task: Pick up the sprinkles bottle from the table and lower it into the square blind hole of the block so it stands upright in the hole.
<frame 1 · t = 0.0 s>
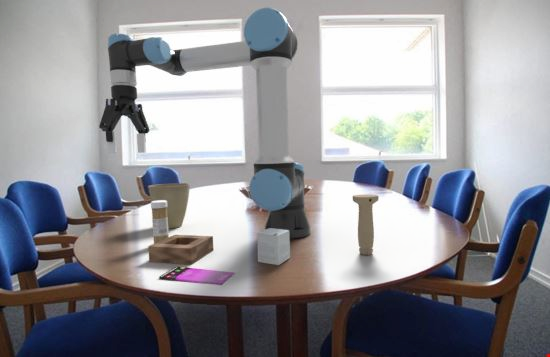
hand: (128, 153, 107), 28 cm above the table, tool pointing down, fingers open, 13 cm apart
handle: (366, 254, 85), on the table
plant pot: (171, 227, 125), on the table
smartphone: (197, 278, 73), on the table
sprinkles bottle: (161, 246, 99), on the table
bore block: (182, 255, 88), on the table
skincare box: (274, 261, 82), on the table
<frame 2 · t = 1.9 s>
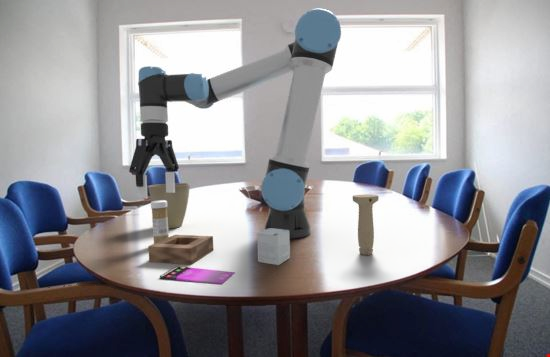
hand: (157, 195, 98), 15 cm above the table, tool pointing down, fingers open, 13 cm apart
nothing on the table moved.
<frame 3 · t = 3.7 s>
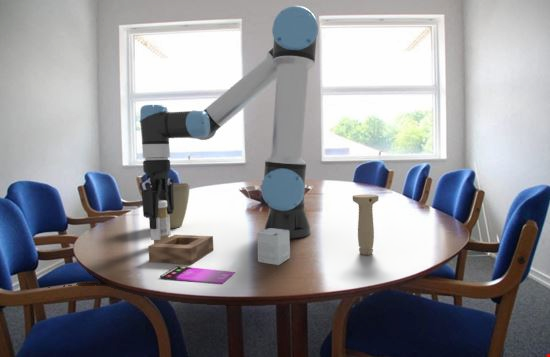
hand: (161, 237, 99), 2 cm above the table, tool pointing down, fingers closed on sprinkles bottle, 4 cm apart
sprinkles bottle: (161, 246, 99), on the table, touching gripper
everything else where it was.
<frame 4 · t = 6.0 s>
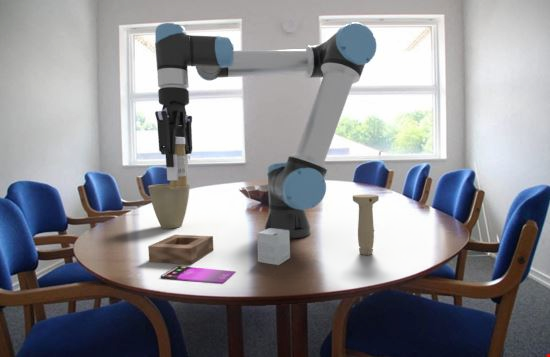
hand: (178, 179, 87), 20 cm above the table, tool pointing down, fingers closed on sprinkles bottle, 4 cm apart
sprinkles bottle: (178, 189, 87), point 18 cm above the table, touching gripper
everything else where it was.
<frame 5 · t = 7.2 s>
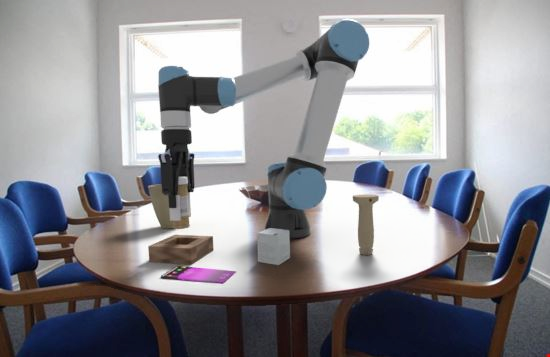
hand: (180, 218, 87), 10 cm above the table, tool pointing down, fingers closed on sprinkles bottle, 4 cm apart
sprinkles bottle: (181, 228, 87), point 7 cm above the table, touching gripper
everything else where it was.
when the fingers open (6 cm above the table, at t = 8.3 s): sprinkles bottle drops 2 cm, resting on bore block.
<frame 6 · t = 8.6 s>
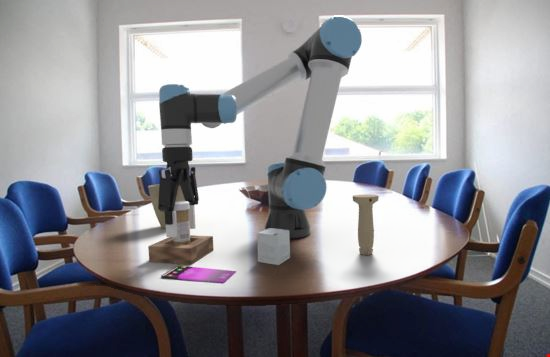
hand: (181, 232, 88), 6 cm above the table, tool pointing down, fingers open, 8 cm apart
sprinkles bottle: (182, 252, 88), point 1 cm above the table, touching bore block
everything else where it was.
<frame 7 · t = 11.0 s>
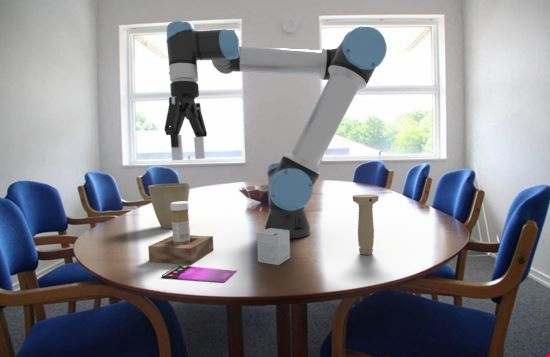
hand: (189, 159, 93), 25 cm above the table, tool pointing down, fingers open, 13 cm apart
nothing on the table moved.
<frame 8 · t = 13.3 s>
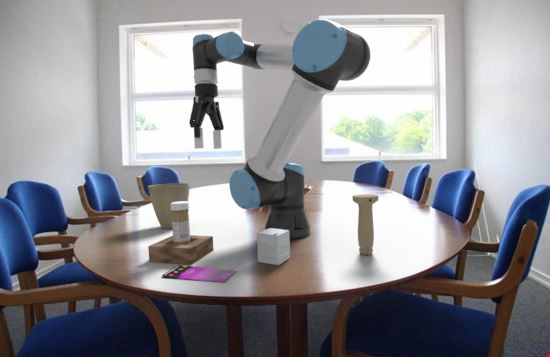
hand: (209, 148, 112), 29 cm above the table, tool pointing down, fingers open, 13 cm apart
at the end: sprinkles bottle 0.2 cm off-centre on the bore block, point 0.8 cm above the bore block's base; sprinkles bottle tilted 0°; the gripper is holding nothing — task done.
